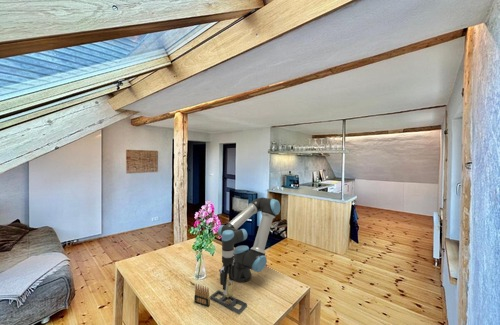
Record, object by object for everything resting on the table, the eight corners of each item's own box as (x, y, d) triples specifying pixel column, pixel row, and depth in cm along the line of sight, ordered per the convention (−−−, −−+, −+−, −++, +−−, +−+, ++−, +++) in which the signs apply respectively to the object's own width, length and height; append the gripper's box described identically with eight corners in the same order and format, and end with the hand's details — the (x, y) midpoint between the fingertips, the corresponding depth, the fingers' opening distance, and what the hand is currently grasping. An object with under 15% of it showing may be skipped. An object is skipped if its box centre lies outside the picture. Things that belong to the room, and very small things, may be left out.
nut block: (227, 292, 131) (227, 281, 131) (232, 294, 129) (232, 283, 129) (223, 295, 128) (223, 284, 128) (228, 297, 126) (228, 286, 126)
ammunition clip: (210, 305, 127) (209, 286, 127) (208, 307, 125) (208, 288, 125) (196, 300, 131) (195, 282, 131) (194, 302, 129) (194, 284, 129)
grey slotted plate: (218, 292, 139) (218, 289, 139) (247, 306, 125) (247, 303, 125) (210, 299, 132) (210, 296, 132) (239, 314, 119) (239, 311, 119)
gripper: (231, 249, 138) (231, 283, 138) (214, 259, 124) (213, 297, 124) (240, 252, 134) (240, 287, 134) (223, 262, 119) (223, 302, 119)
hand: (227, 292), depth 129 cm, fingers closed on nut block, 4 cm apart
